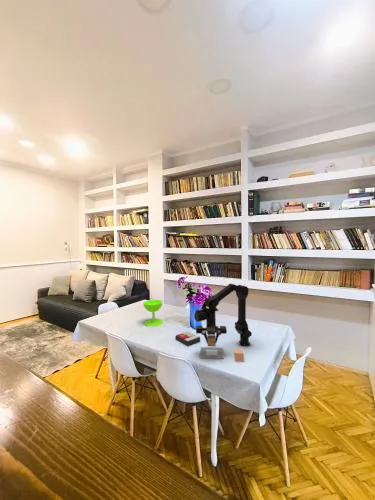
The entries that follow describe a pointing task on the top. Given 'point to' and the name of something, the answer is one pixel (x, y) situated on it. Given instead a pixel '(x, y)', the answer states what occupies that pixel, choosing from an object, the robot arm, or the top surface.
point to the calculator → (187, 338)
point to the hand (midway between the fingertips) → (211, 343)
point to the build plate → (211, 353)
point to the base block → (211, 340)
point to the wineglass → (153, 307)
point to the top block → (239, 355)
